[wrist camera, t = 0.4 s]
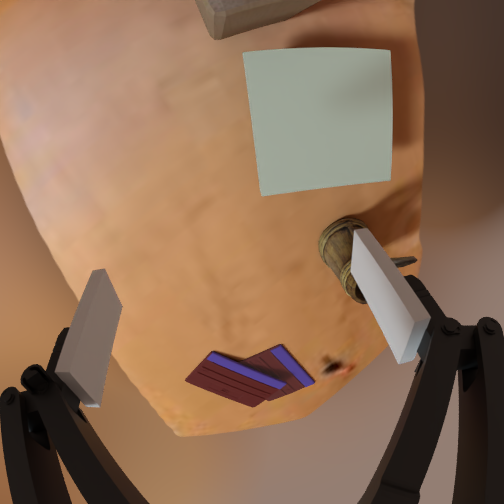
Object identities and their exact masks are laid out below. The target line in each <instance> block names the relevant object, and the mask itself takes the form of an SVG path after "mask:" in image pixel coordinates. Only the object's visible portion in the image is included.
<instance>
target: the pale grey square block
mask: <svg viewBox="0 0 504 504" xmlns="http://www.w3.org/2000/svg"><path fill="white" fill-rule="evenodd" d="M243 60H244V68H245V75H246V83H247V90H248V98H249V105H250V113H251V121H252V129H253V137H254V145H255V153H256V161H257V169H258V177H259V186H260V192H261V195H262V196H268V195H275V194H282V193H289V192H296V191H304V190H311V189H319V188H327V187H335V186H344V185H353V184H362V183H371V182H381V181H390V179H391V161H392V128H393V102H392V70H391V53H390V50H381V49H366V48H338V47H318V48H288V49H273V50H261V51H251V52H243Z"/></svg>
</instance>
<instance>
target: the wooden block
mask: <svg viewBox="0 0 504 504" xmlns="http://www.w3.org/2000/svg"><path fill="white" fill-rule="evenodd" d="M319 1H321V0H195V2H196V4H197V6H198V8H199V11H200V13H201V15H202V18H203V20H204V22H205V25H206V27H207V30H208V32H209V34H210V36H211V37H212V38H213V39H214V40H221V39H224V38H227V37H230V36H233V35H236V34H239V33H242V32H246V31H249V30H252V29H255V28H259V27H262V26H266V25H270V24H273V23H277V22H281V21H285V20H287V19H289V18H290V17H292V16H294V15H296V14H297V13H299V12H301V11H303V10H304V9H306V8H308V7H310V6H312V5H313V4H315V3H317V2H319Z"/></svg>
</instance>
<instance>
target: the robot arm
mask: <svg viewBox="0 0 504 504" xmlns="http://www.w3.org/2000/svg"><path fill="white" fill-rule="evenodd" d="M351 273H352V275H353V277H354V279H355V281H356V282H357V284H358V286H359V288H360V290H361V292H362V293H363V295H364V297H365V299H366V301H367V303H368V305H369V307H370V308H371V310H372V312H373V314H374V316H375V318H376V320H377V322H378V324H379V326H380V328H381V330H382V332H383V334H384V336H385V338H386V340H387V342H388V344H389V346H390V348H391V350H392V351H393V354H394V356H395V358H396V360H397V362H398V364H402V363H405V362H409V361H412V360H414V357H415V355H416V353H417V352H418V354H419V356H420V358H421V359H420V361H419V363H418V365H417V368H416V370H415V372H416V374H415V376H414V380H413V382H412V386H411V388H410V391H409V394H408V397H407V400H406V402H405V405H404V408H403V410H402V413H401V416H400V418H399V421H398V423H397V425H396V428H395V430H394V433H393V435H392V437H391V440H390V442H389V444H388V446H387V449H386V451H385V453H384V455H383V457H382V459H381V461H380V464H379V466H378V468H377V470H376V472H375V474H374V476H373V478H372V480H371V482H370V484H369V485H368V487H367V489H366V491H365V493H364V495H363V496H362V498H361V499H360V501H359V502H358V503H357V504H418V503H419V499H420V493H419V491H420V488H421V485H422V483H423V480H424V478H425V475H426V473H427V470H428V467H429V464H430V462H431V459H432V456H433V454H434V451H435V448H436V445H437V442H438V439H439V436H440V432H441V429H442V426H443V422H444V419H445V416H446V412H447V408H448V405H449V401H450V397H451V393H452V389H453V384H454V380H455V375H456V371H457V370H458V385H459V434H458V435H459V436H458V453H457V467H456V476H455V485H454V493H453V500H452V504H504V336H503V331H502V328H501V326H500V324H499V323H498V322H497V321H496V320H495V319H493V318H490V317H483V318H481V319H480V320H479V322H478V323H477V325H475V326H462V325H461V324H460V323H459V322H458V321H457V320H455V319H453V318H448V317H446V316H445V314H444V313H443V312H442V310H441V309H440V307H439V306H438V304H437V303H436V301H435V300H434V299H433V297H432V296H431V295H430V293H429V292H428V290H426V288H425V286H424V285H423V283H422V282H421V281H420V280H419V279H418V278H416V277H415V276H413V275H408V276H403V275H402V274H401V272H400V271H399V270H398V268H397V267H396V266H395V264H394V263H393V261H392V260H391V259H390V257H389V256H388V255H387V253H386V252H385V251H384V249H383V248H382V247H381V245H380V244H379V243H378V241H377V240H376V239H375V237H374V236H373V235H372V233H371V232H370V231H369V229H368V228H363V229H356V230H354V237H353V250H352V261H351ZM122 307H123V306H122V304H121V302H120V300H119V298H118V296H117V294H116V292H115V290H114V288H113V285H112V283H111V281H110V279H109V277H108V274H107V272H106V270H105V269H100V270H93V271H92V274H91V276H90V278H89V280H88V283H87V285H86V288H85V290H84V292H83V295H82V297H81V300H80V302H79V305H78V307H77V310H76V312H75V315H74V318H73V320H72V323H71V326H70V327H67V328H64V329H63V330H62V331H61V333H60V334H59V335H58V338H57V341H56V343H55V346H54V349H53V353H52V354H51V357H50V360H49V363H48V366H47V369H46V371H45V370H44V369H43V368H42V366H40V365H38V364H34V365H31V366H29V367H28V368H27V369H26V370H24V372H23V374H22V376H21V384H22V385H23V386H24V388H25V389H26V390H27V391H23V392H19V391H18V390H17V389H16V388H15V387H8V388H7V389H5V390H4V391H3V393H2V394H1V396H0V421H1V422H0V423H1V433H2V444H3V452H4V459H5V465H6V471H7V477H8V482H9V487H10V492H11V497H12V501H13V504H72V502H71V500H70V496H69V493H68V490H67V487H66V484H65V481H64V477H63V474H62V471H61V467H60V463H59V460H58V456H57V452H58V454H59V456H60V458H61V459H62V461H63V463H64V465H65V467H66V468H67V470H68V472H69V474H70V475H71V477H72V479H73V481H74V483H75V484H76V486H77V487H78V489H79V491H80V492H81V494H82V495H83V497H84V499H85V500H86V501H87V503H88V504H149V503H148V502H147V500H146V499H145V498H144V497H143V496H142V495H141V493H140V492H139V491H138V490H137V488H136V487H135V486H134V485H133V484H132V482H131V481H130V480H129V479H128V477H127V476H126V475H125V473H124V472H123V471H122V469H121V468H120V467H119V466H118V464H117V463H116V462H115V460H114V459H113V457H112V456H111V455H110V453H109V452H108V450H107V449H106V447H105V446H104V444H103V443H102V441H101V440H100V438H99V437H98V436H97V434H96V432H95V431H94V429H93V428H92V426H91V424H90V423H89V421H88V420H87V418H86V416H85V415H84V413H83V411H82V410H81V409H80V408H79V404H80V401H81V402H82V403H83V404H84V405H85V406H86V407H100V406H101V401H102V395H103V390H104V385H105V380H106V374H107V370H108V365H109V360H110V356H111V351H112V347H113V343H114V338H115V334H116V330H117V326H118V322H119V318H120V314H121V310H122ZM56 450H57V452H56Z"/></svg>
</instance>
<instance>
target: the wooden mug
mask: <svg viewBox="0 0 504 504" xmlns="http://www.w3.org/2000/svg"><path fill="white" fill-rule="evenodd" d="M363 228H368V227H367V226H366V225H365V224H364V222H363V221H360V220H358V219H348V218H346V219H342V220H339V221H337V222H335V223H333V224H332V225H330V226H329V227H328V228H327V229H326V230H325V231H323V233H322V235H321V237H320V239H319V252H320V254H321V257H322V259H323V261H324V263H325V264H326V265H327V266H328V267H329V268H331V269H332V271H333V272H334V273H335V275H336V276H337V277H338V279H339V280H340V283H341V285H342V287H343V289H344V290H345V292H346V293H347V294H348V295H349V296H351V297H352V298H353V299H354V300H355V301H356V302H358V303H361V304H367V301H366V299H365V297H364V295H363V293H362V292H361V290H360V288H359V286H358V284H357V282H356V281H355V279H354V277H353V275H352V273H351V261H352V250H353V237H354V230H356V229H363ZM390 259H391V260H392V261H393V263H394V264H395V266H396V267H397V268H398V267H404V266H407V265H410V264H412V263H415V262H416V261H417V259H416V258H415V257H414V256H411V257H400V258H390Z"/></svg>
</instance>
